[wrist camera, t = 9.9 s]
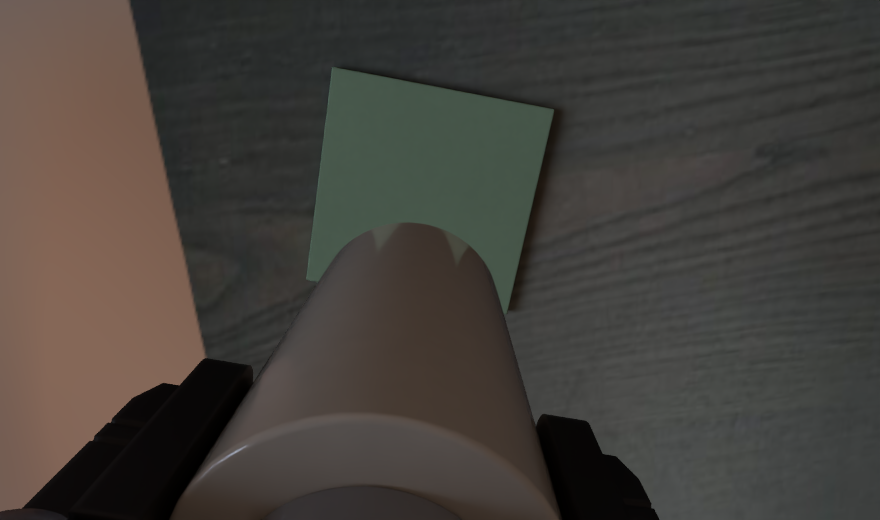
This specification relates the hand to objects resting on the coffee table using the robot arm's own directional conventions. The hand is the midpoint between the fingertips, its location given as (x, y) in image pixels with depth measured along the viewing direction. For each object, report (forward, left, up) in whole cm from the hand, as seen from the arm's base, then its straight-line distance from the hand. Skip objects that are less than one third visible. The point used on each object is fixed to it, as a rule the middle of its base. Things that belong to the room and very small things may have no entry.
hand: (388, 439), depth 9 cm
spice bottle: (0, 0, -6) cm, 6 cm away
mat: (0, 0, -24) cm, 24 cm away
